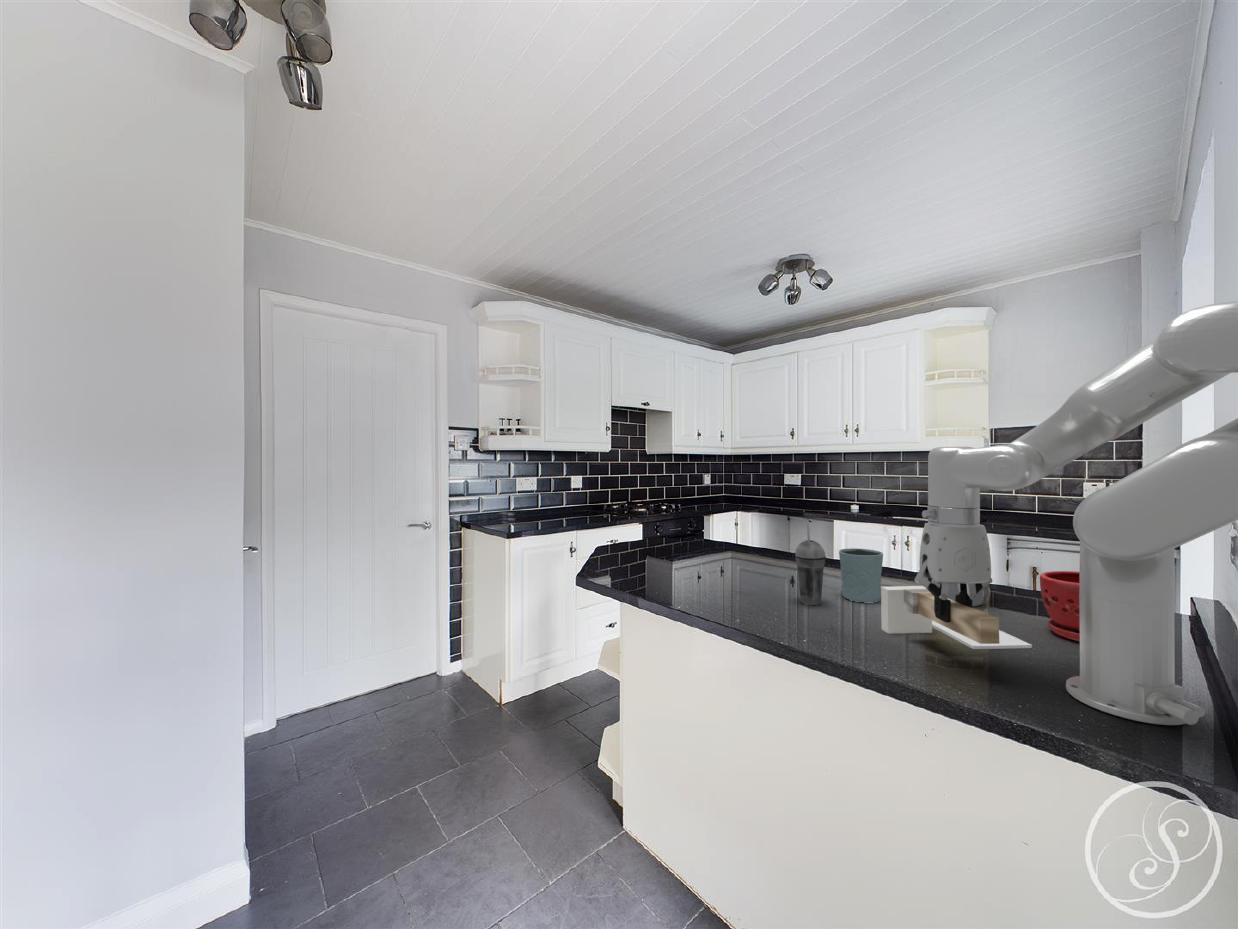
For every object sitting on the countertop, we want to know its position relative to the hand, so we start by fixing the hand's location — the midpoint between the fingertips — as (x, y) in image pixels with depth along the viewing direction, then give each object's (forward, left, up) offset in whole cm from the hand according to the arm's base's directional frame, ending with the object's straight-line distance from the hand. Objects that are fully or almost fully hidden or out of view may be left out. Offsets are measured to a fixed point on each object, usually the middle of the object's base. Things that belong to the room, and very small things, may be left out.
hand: (953, 618), depth 86 cm
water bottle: (+33, -24, -8) cm, 42 cm away
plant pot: (+9, -32, -8) cm, 34 cm away
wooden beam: (+1, 0, -1) cm, 2 cm away
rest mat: (+16, -12, -7) cm, 22 cm away
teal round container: (+37, -2, -8) cm, 38 cm away
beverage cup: (+34, +12, -8) cm, 37 cm away
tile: (+14, 0, -7) cm, 16 cm away
